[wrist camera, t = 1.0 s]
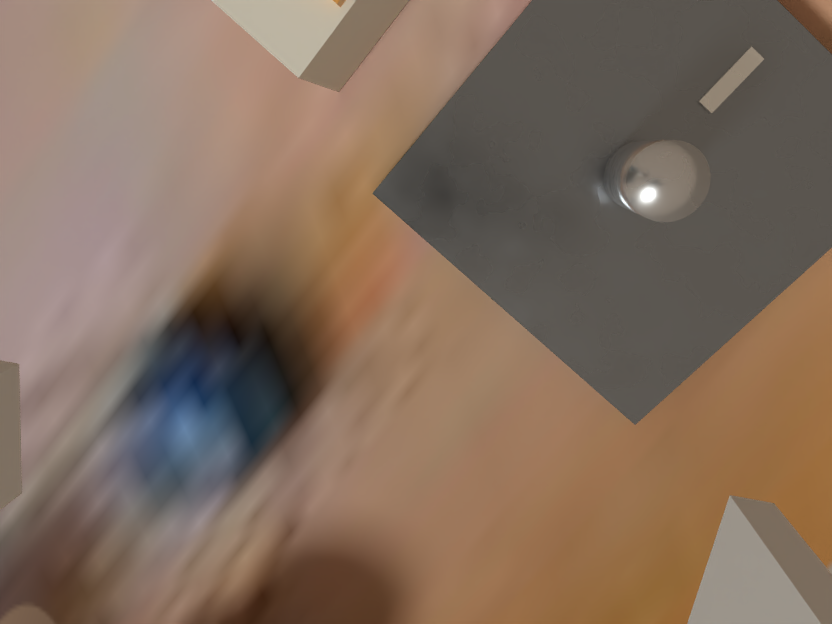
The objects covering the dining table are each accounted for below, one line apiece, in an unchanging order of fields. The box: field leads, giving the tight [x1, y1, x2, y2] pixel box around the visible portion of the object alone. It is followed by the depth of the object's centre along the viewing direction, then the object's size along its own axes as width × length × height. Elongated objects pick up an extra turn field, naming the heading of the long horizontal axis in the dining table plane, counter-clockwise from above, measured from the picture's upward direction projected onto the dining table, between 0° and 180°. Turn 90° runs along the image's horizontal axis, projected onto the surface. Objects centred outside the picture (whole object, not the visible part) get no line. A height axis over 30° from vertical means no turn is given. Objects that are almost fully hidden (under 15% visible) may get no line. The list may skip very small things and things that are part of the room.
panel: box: [372, 0, 832, 424], centre depth 28 cm, size 18×18×6 cm
